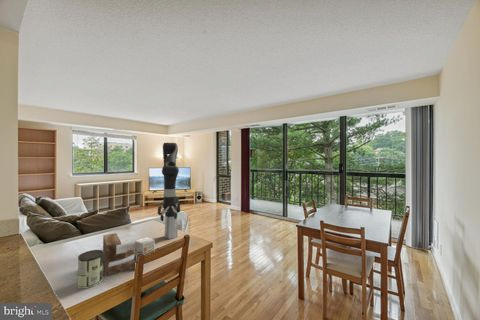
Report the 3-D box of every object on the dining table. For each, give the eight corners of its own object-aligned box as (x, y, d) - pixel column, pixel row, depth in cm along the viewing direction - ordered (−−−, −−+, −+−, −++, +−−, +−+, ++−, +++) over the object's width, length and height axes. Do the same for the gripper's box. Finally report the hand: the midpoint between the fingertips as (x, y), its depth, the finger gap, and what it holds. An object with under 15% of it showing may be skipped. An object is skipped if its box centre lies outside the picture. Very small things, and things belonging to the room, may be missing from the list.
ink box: (142, 263, 124) (142, 244, 124) (133, 259, 129) (134, 240, 129) (154, 258, 132) (155, 239, 132) (146, 254, 136) (147, 236, 136)
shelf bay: (133, 253, 137) (134, 228, 137) (142, 268, 119) (143, 240, 119) (101, 260, 127) (102, 233, 127) (106, 278, 108) (107, 247, 108)
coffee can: (90, 275, 110) (90, 248, 110) (107, 277, 109) (108, 250, 109) (71, 287, 100) (72, 257, 100) (90, 290, 99) (91, 260, 99)
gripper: (177, 193, 147) (177, 217, 147) (156, 195, 138) (156, 220, 138) (182, 195, 141) (181, 219, 141) (160, 197, 132) (159, 223, 132)
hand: (168, 219), depth 139 cm, fingers open, 8 cm apart
